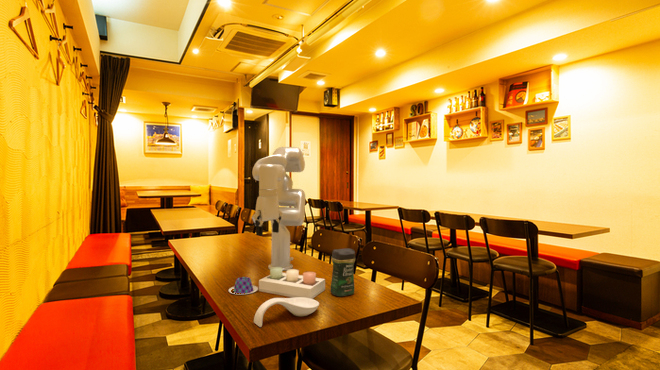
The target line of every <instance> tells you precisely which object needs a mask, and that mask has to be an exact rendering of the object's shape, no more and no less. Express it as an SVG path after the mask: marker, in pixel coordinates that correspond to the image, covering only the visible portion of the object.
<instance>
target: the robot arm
mask: <svg viewBox="0 0 660 370" xmlns="http://www.w3.org/2000/svg"><path fill="white" fill-rule="evenodd" d="M305 168H306V163H305V157H304V154H303V152H302V149H301V148H299V147H296V146H280V147H278V148H276V149H274V151H273V152H272V154H271V155H267V156H265V157H263V158H259V159H258V160H257V161H256V162H255V163H254V166H253V167H252V172H251V173H252V177H253V180H255V181H258V186H259V187H258V196H257V199H256V202H255V203H256V204H255V213H254V214H252V215H251V219H252V222H253V224H254V226H255V235H256V236H259V237H263V235H264V233H263V232H264V227H263V225H264V224H263V223H264V222H268V221H270V225H271V258H270V259H271V263H269V264H268V267H267V268H268V270H270V268H272V267H281V268H282V272H283V271H287V270H289V269H294V268H293V267H294V266H293V264H292V263H291V261H293V260H294V257H293V256H291V233H290V231H289V229H288V228H287V227H289V226H291V227H299V226H302V225H304V222H305V214H306V213H305V212H306V211H305V210H306V193H305V190H303V189H301V188H293V184H294V183H293V180H292V178H291V176H290V175H289V174H287V173H303V171H304V170H305Z"/></svg>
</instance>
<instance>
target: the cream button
mask: <svg viewBox="0 0 660 370" xmlns="http://www.w3.org/2000/svg"><path fill="white" fill-rule="evenodd" d="M299 272H300V270H299V269H295V268H292V269H289V270H285V273H286V282H292V283H296V282H298V281H299V275H300V274H299Z"/></svg>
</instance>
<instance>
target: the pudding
mask: <svg viewBox="0 0 660 370" xmlns="http://www.w3.org/2000/svg"><path fill="white" fill-rule="evenodd" d="M232 289H234V290H233V291H234V293H232V292H231V290H232ZM257 291H259V286H256V285H254V284H253V283H252V279H251V277H249V276H248V277H247V276H242V277H237V278H236V280H235V284H234V286H232V287H229V289H228V292H229V293H230V294H232V295H236V294H237V293H239V294H238V295H245V294H246V295H249V294H253V293H255V292H257ZM235 293H236V294H235ZM240 293H241V294H240ZM244 293H245V294H244Z"/></svg>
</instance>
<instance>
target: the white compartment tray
mask: <svg viewBox="0 0 660 370" xmlns="http://www.w3.org/2000/svg"><path fill="white" fill-rule="evenodd" d="M325 290H326V279H325V278H320V277H316V284H315V285H313V286H311V285H304V284H303V274H299V281H298V282H296V283H292V282H286V272H282V279H280V280H274V279H270V274H269V275H267V276H265V277H263V278H261V279H259V280H258V292H262V293H268V294H274V295H277V296H285V297H287V298H294V297H304V298H310V299H314V298H315V297H317V296H318V295H319V294H321V293H322V292H324V291H325Z"/></svg>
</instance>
